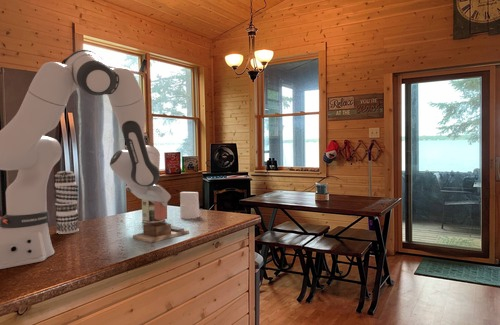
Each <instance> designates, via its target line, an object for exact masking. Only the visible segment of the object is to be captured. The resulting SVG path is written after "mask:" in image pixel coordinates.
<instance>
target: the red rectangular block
mask: <svg viewBox="0 0 500 325" xmlns="http://www.w3.org/2000/svg"><path fill="white" fill-rule="evenodd" d="M154 218H155V219H157V220H164V219H165V220H167V219H168V205H167V206H166V207H163V206H162V205H161V202H157V201H154Z"/></svg>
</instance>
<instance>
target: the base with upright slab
mask: <svg viewBox="0 0 500 325" xmlns="http://www.w3.org/2000/svg"><path fill="white" fill-rule="evenodd" d="M179 200H180V201H179V202H180V206H179V211H180V212H179V213H180V215H179V216H180V218H181V219H184V220H185V219H186V220H191V218H192V219H197V217H198V218H199V217H200V201H199V192H198V191H181V192H179Z"/></svg>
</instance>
